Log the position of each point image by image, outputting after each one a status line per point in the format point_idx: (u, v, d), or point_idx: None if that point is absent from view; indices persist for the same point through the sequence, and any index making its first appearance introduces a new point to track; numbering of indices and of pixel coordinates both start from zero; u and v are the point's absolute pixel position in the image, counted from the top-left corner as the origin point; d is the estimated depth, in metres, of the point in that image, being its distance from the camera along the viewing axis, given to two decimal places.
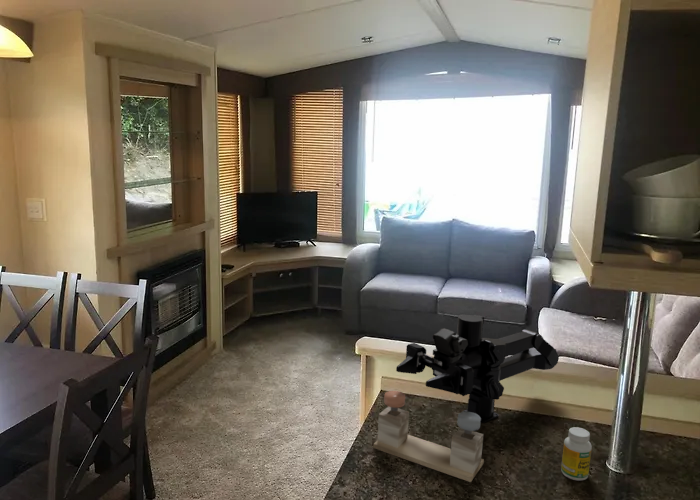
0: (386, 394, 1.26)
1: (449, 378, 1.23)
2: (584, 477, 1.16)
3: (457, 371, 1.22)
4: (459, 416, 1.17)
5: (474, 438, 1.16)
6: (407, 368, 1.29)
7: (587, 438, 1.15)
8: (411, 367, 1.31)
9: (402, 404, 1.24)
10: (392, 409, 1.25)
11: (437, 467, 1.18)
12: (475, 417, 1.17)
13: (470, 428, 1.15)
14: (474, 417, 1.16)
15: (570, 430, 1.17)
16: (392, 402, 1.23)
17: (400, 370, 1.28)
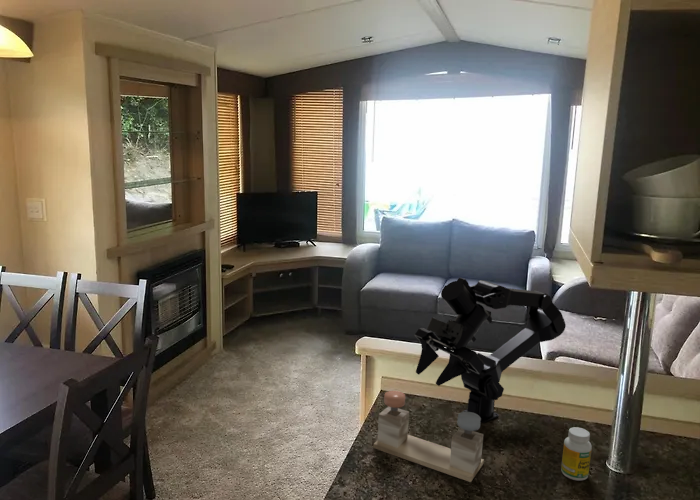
0: (386, 394, 1.26)
1: (455, 364, 1.27)
2: (584, 477, 1.16)
3: (457, 360, 1.25)
4: (459, 416, 1.17)
5: (474, 438, 1.16)
6: (426, 363, 1.34)
7: (587, 438, 1.15)
8: (430, 358, 1.34)
9: (402, 404, 1.24)
10: (392, 409, 1.25)
11: (437, 467, 1.18)
12: (475, 417, 1.17)
13: (470, 428, 1.15)
14: (474, 417, 1.16)
15: (570, 430, 1.17)
16: (392, 402, 1.23)
17: (421, 371, 1.33)
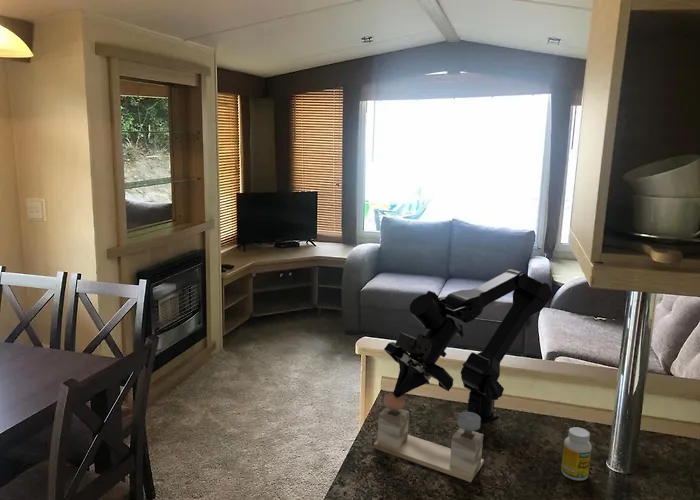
0: (386, 396, 1.26)
1: (414, 376, 1.26)
2: (584, 477, 1.16)
3: (415, 371, 1.23)
4: (459, 416, 1.17)
5: (474, 438, 1.16)
6: None
7: (587, 438, 1.15)
8: None
9: (402, 406, 1.24)
10: (392, 411, 1.25)
11: (437, 467, 1.18)
12: (475, 417, 1.17)
13: (470, 428, 1.15)
14: (474, 417, 1.16)
15: (570, 430, 1.17)
16: (392, 404, 1.23)
17: None
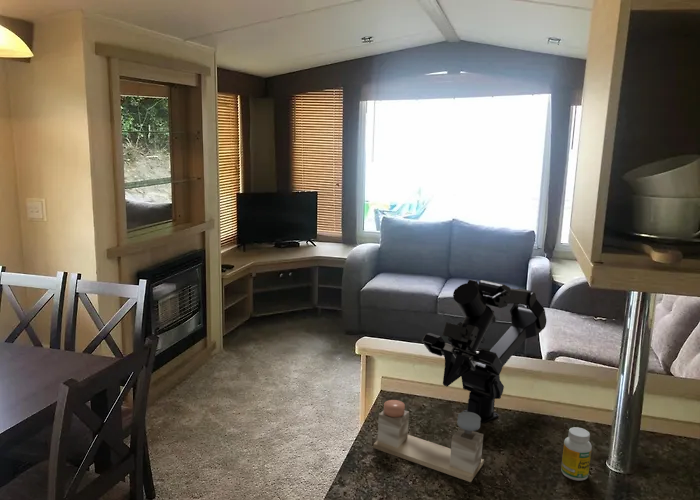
0: (386, 403, 1.26)
1: None
2: (584, 477, 1.16)
3: (465, 359, 1.26)
4: (459, 416, 1.17)
5: (474, 438, 1.16)
6: None
7: (587, 438, 1.15)
8: None
9: (401, 413, 1.24)
10: None
11: (437, 467, 1.18)
12: (475, 417, 1.17)
13: (470, 428, 1.15)
14: (474, 417, 1.16)
15: (570, 430, 1.17)
16: (391, 411, 1.24)
17: None
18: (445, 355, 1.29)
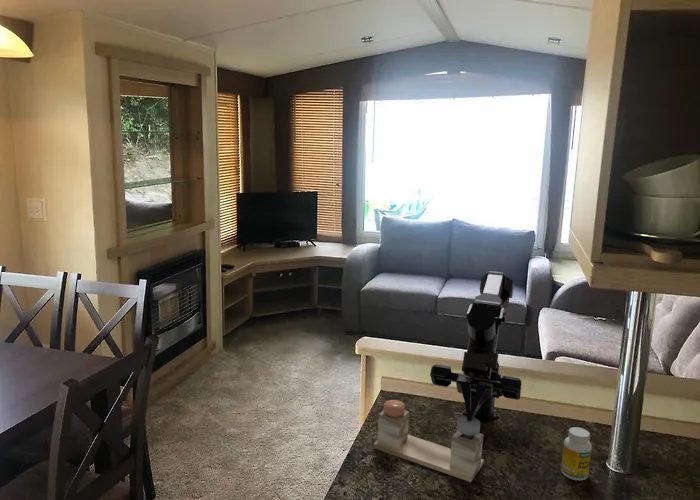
0: (386, 403, 1.26)
1: None
2: (584, 477, 1.16)
3: (487, 389, 1.17)
4: (459, 421, 1.17)
5: (474, 438, 1.16)
6: (470, 405, 1.19)
7: (587, 438, 1.15)
8: None
9: (401, 413, 1.24)
10: None
11: (437, 467, 1.18)
12: (475, 422, 1.17)
13: (470, 433, 1.15)
14: (473, 422, 1.17)
15: (570, 430, 1.17)
16: (391, 411, 1.24)
17: None
18: (463, 387, 1.19)
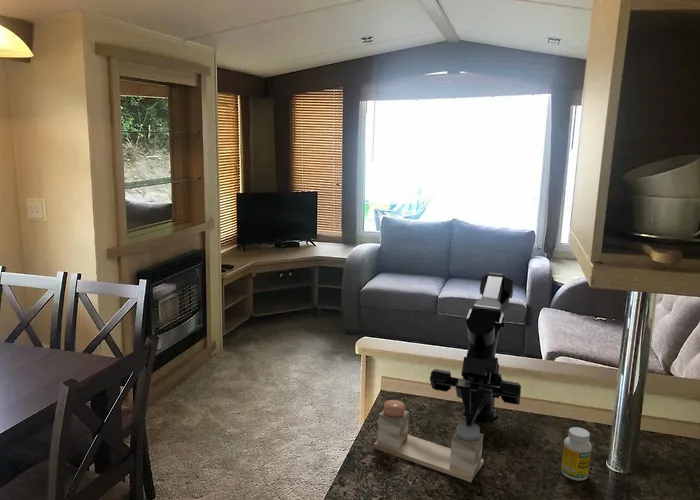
0: (386, 403, 1.26)
1: None
2: (584, 477, 1.16)
3: (487, 394, 1.17)
4: (458, 426, 1.17)
5: None
6: None
7: (587, 438, 1.15)
8: (470, 403, 1.20)
9: (401, 413, 1.24)
10: None
11: (437, 467, 1.18)
12: (474, 427, 1.17)
13: (469, 438, 1.15)
14: (473, 427, 1.17)
15: (570, 430, 1.17)
16: (391, 411, 1.24)
17: None
18: (462, 392, 1.19)
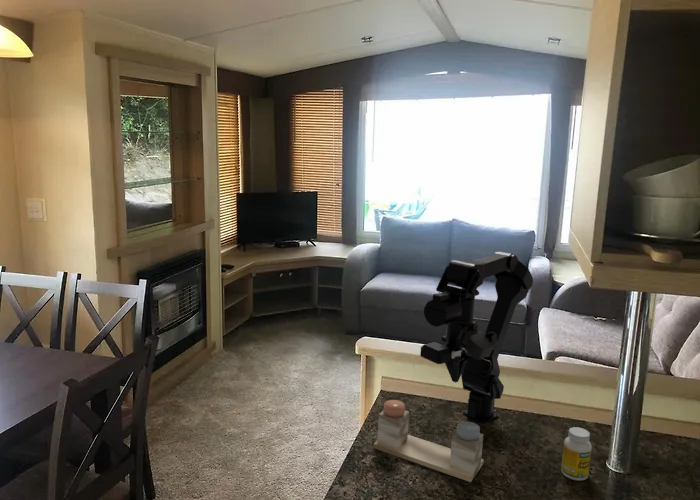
0: (386, 403, 1.26)
1: None
2: (584, 477, 1.16)
3: None
4: (458, 426, 1.17)
5: None
6: None
7: (587, 438, 1.15)
8: None
9: (401, 413, 1.24)
10: None
11: (437, 467, 1.18)
12: (474, 427, 1.17)
13: (469, 438, 1.15)
14: (473, 427, 1.17)
15: (570, 430, 1.17)
16: (391, 411, 1.24)
17: None
18: (458, 362, 1.26)
